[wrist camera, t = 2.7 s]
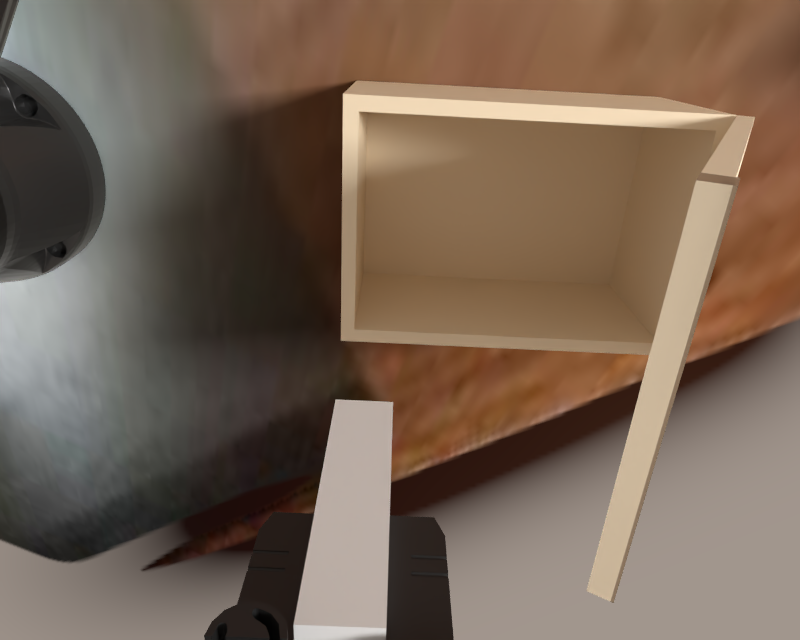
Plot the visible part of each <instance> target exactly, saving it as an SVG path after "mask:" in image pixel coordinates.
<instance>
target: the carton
mask: <svg viewBox="0 0 800 640" xmlns="http://www.w3.org/2000/svg"><path fill="white" fill-rule="evenodd" d="M735 118H736V115H733V114H729V113H725V112H721V111H716V110H712V109H708V108H704V107H699V106H695V105H691V104H686V103H682V102H678V101H674V100H669V99H665V98H661V97H649V96H631V95H612V94H594V93H576V92H558V91H540V90H521V89H503V88H485V87H467V86H449V85H430V84H412V83H394V82H376V81H356V82H355V83H353V84H352V85H351V86H350V87H349V88H348V89H347V90H346V91H345V92H344V93H343V150H342V267H341V341H358V342H379V343H401V344H423V345H445V346H466V347H488V348H510V349H532V350H553V351H575V352H597V353H619V354H640V355H650V351H651V348H652V344H653V340H654V336H655V333H656V329H657V325H658V321H659V318H660V314H661V310H662V306H663V303H664V299H665V295H666V291H667V288H668V284H669V280H670V276H671V273H672V269H673V265H674V261H675V258H676V254H677V250H678V246H679V243H680V239H681V235H682V231H683V228H684V224H685V220H686V216H687V213H688V209H689V205H690V201H691V198H692V194H693V190H694V186H695V183H696V180H697V178H698V177H699V175H700V173H701V172H702V170H703V169H704V167H705V166H706V164H707V162H708V161H709V159H710V158H711V156H712V155H713V153H714V151H715V150H716V148H717V147H718V145H719V144H720V142H721V140H722V139H723V137H724V136H725V134H726V133H727V131H728V129H729V128H730V126H731V125H732V123H733V122H734V120H735Z"/></svg>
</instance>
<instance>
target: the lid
mask: <svg viewBox="0 0 800 640" xmlns="http://www.w3.org/2000/svg"><path fill="white" fill-rule="evenodd" d="M754 119H755V117H748V116H738V115H737V117H736V118H735V120H734V122H733V123H732V125H731V126H730V128H729V129H728V131H727V133H726V134H725V136H724V137H723V139H722V140H721V142H720V144H719V145H718V147H717V148H716V150H715V151H714V153H713V155H712V156H711V158H710V159H709V161H708V162H707V164H706V166H705V167H704V169H703V170H702V172H701V173H700V175H699V177H698V178H697V180H696V183H695V186H694V190H693V194H692V198H691V201H690V205H689V209H688V213H687V216H686V220H685V224H684V228H683V231H682V235H681V239H680V243H679V246H678V250H677V254H676V258H675V261H674V265H673V269H672V273H671V276H670V280H669V284H668V288H667V291H666V295H665V299H664V303H663V306H662V310H661V314H660V318H659V321H658V325H657V329H656V333H655V336H654V340H653V344H652V348H651V351H650V355H649V359H648V363H647V366H646V370H645V374H644V378H643V381H642V385H641V389H640V393H639V396H638V400H637V404H636V408H635V411H634V415H633V419H632V423H631V426H630V430H629V434H628V438H627V441H626V445H625V449H624V453H623V456H622V460H621V464H620V467H619V471H618V475H617V479H616V482H615V486H614V490H613V494H612V497H611V502H610V505H609V509H608V512H607V516H606V520H605V524H604V527H603V531H602V535H601V539H600V543H599V546H598V550H597V554H596V557H595V561H594V565H593V569H592V572H591V576H590V580H589V584H588V587H587V591H588V592H590V593H592V594H595V595H597V596H599V597H601V598H603V599H606V600H608V601H610V602H612V603H614V599H615V596H616V593H617V589H618V586H619V583H620V579H621V576H622V573H623V569H624V566H625V562H626V559H627V556H628V552H629V549H630V546H631V542H632V539H633V536H634V533H635V529H636V526H637V522H638V519H639V516H640V512H641V509H642V506H643V502H644V499H645V496H646V492H647V489H648V486H649V482H650V479H651V475H652V472H653V469H654V465H655V462H656V459H657V455H658V452H659V449H660V445H661V442H662V439H663V435H664V432H665V429H666V425H667V422H668V418H669V415H670V412H671V409H672V405H673V402H674V398H675V395H676V392H677V388H678V385H679V382H680V379H681V375H682V372H683V369H684V365H685V362H686V358H687V355H688V352H689V348H690V345H691V342H692V338H693V335H694V332H695V328H696V325H697V322H698V318H699V315H700V312H701V308H702V305H703V302H704V298H705V295H706V292H707V288H708V285H709V281H710V278H711V275H712V271H713V268H714V265H715V261H716V258H717V255H718V251H719V248H720V245H721V241H722V238H723V235H724V231H725V228H726V225H727V221H728V218H729V215H730V211H731V208H732V204H733V201H734V198H735V194H736V191H737V188H738V184H739V181H740V178H737V177H738V173H739V170H740V167H741V163H742V160H743V156H744V153H745V150H746V146H747V143H748V140H749V136H750V133H751V129H752V126H753V123H754Z"/></svg>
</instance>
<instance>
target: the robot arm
mask: <svg viewBox="0 0 800 640" xmlns="http://www.w3.org/2000/svg"><path fill="white" fill-rule="evenodd" d="M18 2H19V0H0V283H3V282H11V281H20V280H26V279H31V278H34V277H38V276H40V275H43V274H46V273H48V272H50V271H52V270H54V269H56V268H58V267H59V266H61V265H62V264H64V263H65V262H67V261H68V260H70V259H71V258H73V257H74V256H76V255H77V254H78V253H79V252H81V251H82V250H83V249H84V248H85V247H86V246H87V244H88V243H89V242H90V241H91V239H92V238H93V236H94V234H95V233H96V231H97V229H98V227H99V224H100V222H101V219H102V215H103V211H104V205H105V179H104V172H103V168H102V164H101V160H100V157H99V154H98V151H97V149H96V146H95V144H94V142H93V140H92V138H91V136H90V134H89V132H88V130H87V128H86V127H85V125H84V124H83V122H82V121H81V119H80V118H79V116H78V115H77V114H76V112H75V111H74V110H73V108H72V107H71V106H70V105H69V104H68V103H67V101H66V100H65V99H64V98H63V97H62V96H61V95H60V94H59V93H58V92H57V91H55V90H54V89H53V88H52V87H51V86H50V85H48V84H47V83H46V82H45V81H43V80H42V79H41V78H39V77H38V76H37V75H35V74H33V73H32V72H30V71H29V70H27V69H25V68H23V67H22V66H20V65H18V64H16V63H13V62H11V61H9V60H6V59H4V58H1V55H2V52H3V49H4V46H5V43H6V39H7V36H8V33H9V30H10V27H11V24H12V21H13V18H14V14H15V11H16V8H17V5H18ZM392 418H393V402H378V401H356V400H336V401H335V406H334V412H333V417H332V422H331V428H330V433H329V438H328V444H327V449H326V454H325V460H324V465H323V470H322V476H321V481H320V486H319V492H318V497H317V502H316V508H315V513H314V514H305V513H282V512H274V513H273V514H272V515H271V516H270V517H269V519H268V520H267V521H266V522H265V523H264V524H263V526H262V527H261V528H260V529H259V532H258V535H257V539H256V542H255V546H254V549H253V554H252V556H251V559H250V563H249V566H248V571H247V573H246V577H245V580H244V583H243V587H242V590H241V593H240V597H239V600H238V604H237V605H235V606H233V607H231V608H228V609H226V610H224V611H223V612H222V613H221V614H220V615H219V616H218V617H217V618H216V619H214V620H213V621H212V623H211V624H210V626H209V628H208V630H207V632H206V633H205V635H204V637H205V640H453V627H452V616H451V603H450V591H449V579H448V568H447V560H446V559H447V558H446V544H445V535H444V534H443V532H442V530H441V528H440V527H439V525H438V523H437V522H436V520H435V518H432V517H408V516H390V487H391V453H392Z"/></svg>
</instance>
